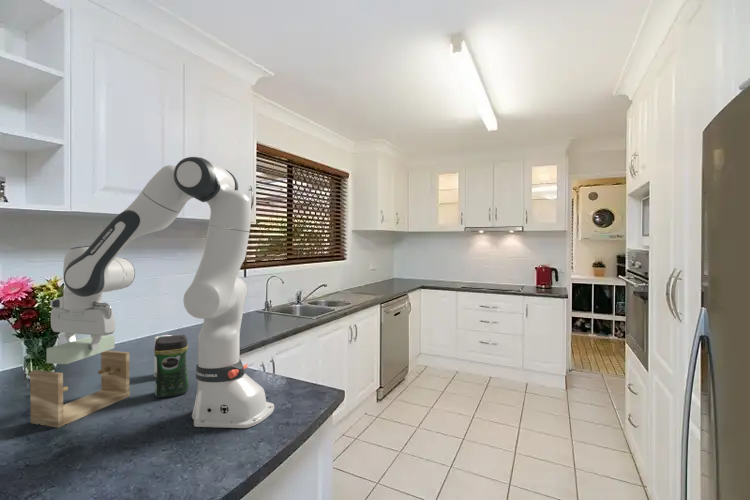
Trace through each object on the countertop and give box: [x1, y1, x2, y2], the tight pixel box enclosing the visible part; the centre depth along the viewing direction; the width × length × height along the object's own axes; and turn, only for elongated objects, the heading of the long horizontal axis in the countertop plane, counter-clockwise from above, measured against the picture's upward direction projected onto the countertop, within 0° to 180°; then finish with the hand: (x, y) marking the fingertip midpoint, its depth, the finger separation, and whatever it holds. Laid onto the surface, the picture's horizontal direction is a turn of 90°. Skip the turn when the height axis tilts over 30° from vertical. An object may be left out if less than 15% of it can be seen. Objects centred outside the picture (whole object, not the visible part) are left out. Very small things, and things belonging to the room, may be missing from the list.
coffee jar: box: [153, 334, 190, 398], centre depth 120 cm, size 10×8×19 cm
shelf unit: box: [29, 350, 131, 428], centre depth 108 cm, size 21×10×14 cm, turn 165°
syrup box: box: [153, 334, 173, 378], centre depth 136 cm, size 6×6×14 cm
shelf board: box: [46, 334, 116, 365], centre depth 108 cm, size 16×6×4 cm, turn 173°
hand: (83, 348), depth 108 cm, fingers closed on shelf board, 6 cm apart
